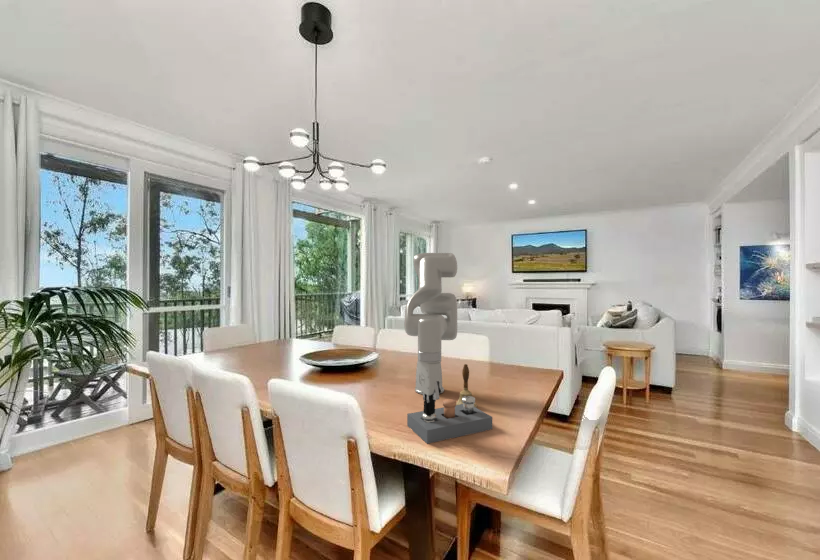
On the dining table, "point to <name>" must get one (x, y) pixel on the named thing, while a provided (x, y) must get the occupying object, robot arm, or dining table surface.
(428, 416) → the ball
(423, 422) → the panel
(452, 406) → the peach grooved knob
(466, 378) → the hand bell
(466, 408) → the silver rounded piece
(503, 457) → the dining table surface
